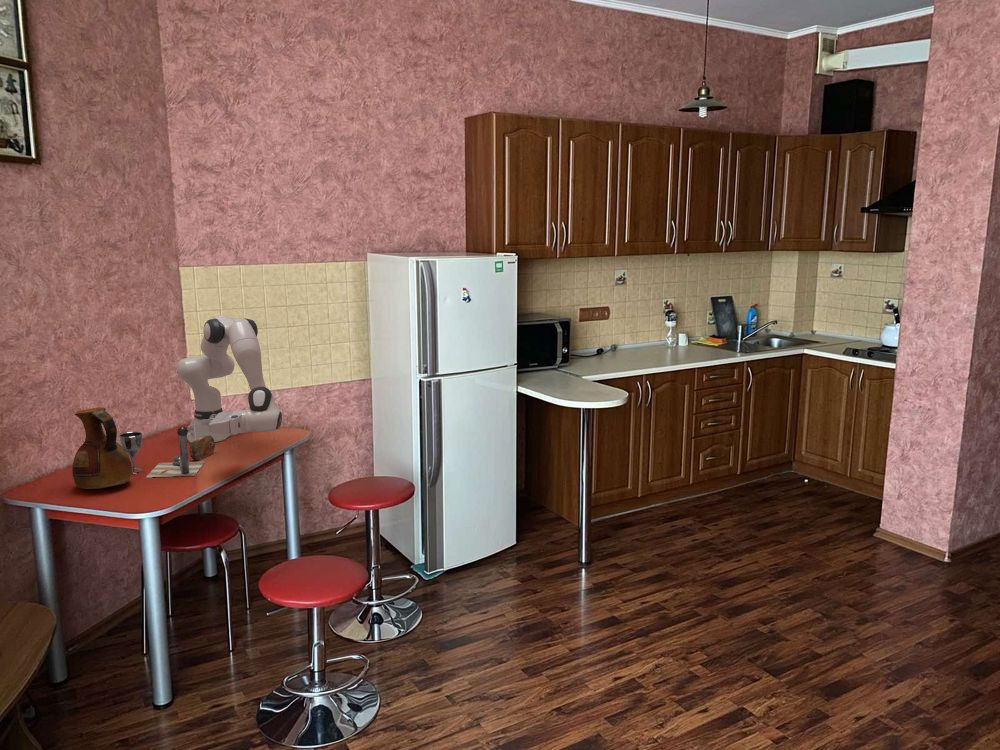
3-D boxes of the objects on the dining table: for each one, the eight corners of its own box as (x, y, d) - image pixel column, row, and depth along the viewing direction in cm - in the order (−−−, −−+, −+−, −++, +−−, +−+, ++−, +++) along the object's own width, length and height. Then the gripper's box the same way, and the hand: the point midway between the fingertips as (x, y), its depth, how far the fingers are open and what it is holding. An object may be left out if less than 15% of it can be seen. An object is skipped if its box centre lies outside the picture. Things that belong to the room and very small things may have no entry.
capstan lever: (172, 461, 314) (168, 417, 310) (187, 459, 316) (184, 416, 313) (177, 474, 297) (174, 428, 294) (194, 472, 300) (191, 426, 297)
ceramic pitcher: (106, 475, 299) (99, 400, 293) (145, 482, 291) (139, 405, 286) (61, 490, 281) (53, 411, 275) (102, 498, 273) (95, 416, 268)
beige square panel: (159, 464, 313) (158, 462, 313) (205, 462, 316) (205, 461, 316) (146, 478, 296) (145, 476, 296) (195, 476, 298) (194, 474, 298)
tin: (195, 462, 317) (194, 442, 315) (188, 462, 317) (187, 442, 316) (215, 452, 331) (214, 433, 330) (209, 452, 332) (208, 433, 330)
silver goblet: (148, 470, 306) (146, 433, 303) (129, 475, 299) (126, 438, 296) (137, 466, 310) (134, 430, 307) (118, 471, 304) (115, 434, 301)
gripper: (242, 407, 309) (206, 408, 307) (233, 419, 289) (195, 420, 287) (243, 423, 310) (207, 424, 308) (234, 435, 290) (196, 437, 288)
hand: (201, 422), depth 297 cm, fingers closed
